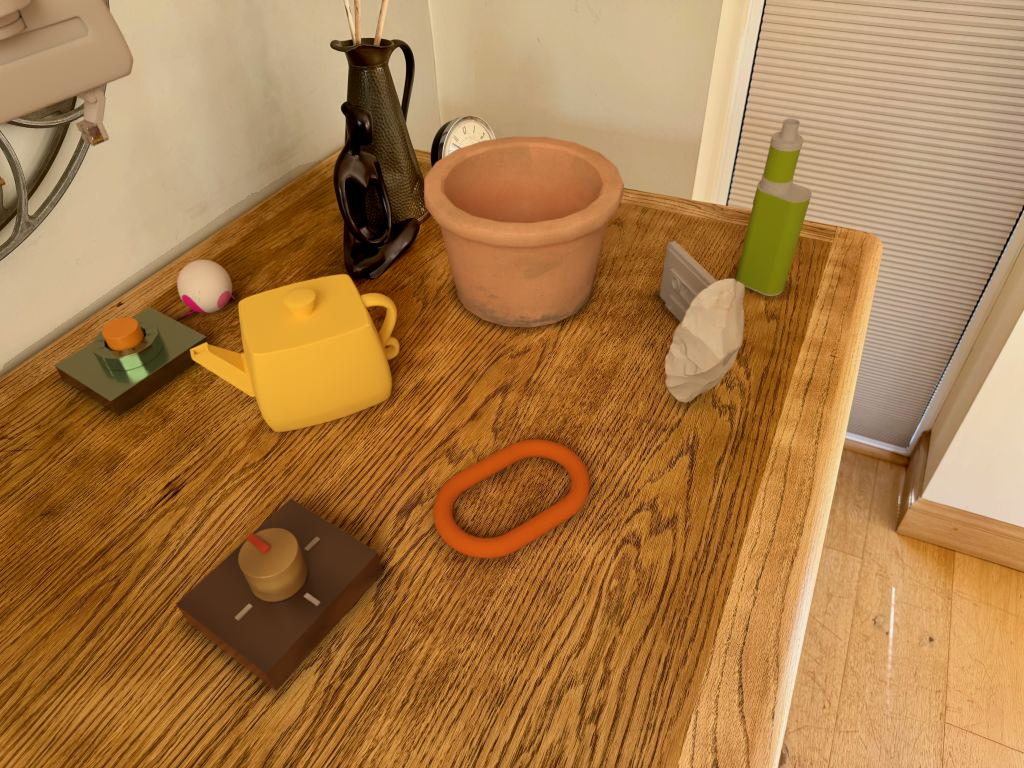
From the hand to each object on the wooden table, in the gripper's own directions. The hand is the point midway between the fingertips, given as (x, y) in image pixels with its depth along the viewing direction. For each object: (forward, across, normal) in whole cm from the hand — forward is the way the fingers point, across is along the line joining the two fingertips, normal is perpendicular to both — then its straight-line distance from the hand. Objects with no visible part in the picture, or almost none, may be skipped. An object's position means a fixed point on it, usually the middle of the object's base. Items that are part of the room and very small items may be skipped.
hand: (47, 163), depth 62 cm
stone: (+26, -29, +50) cm, 64 cm away
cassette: (+26, -40, +44) cm, 65 cm away
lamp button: (+21, 0, -3) cm, 21 cm away
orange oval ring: (+26, -8, +42) cm, 50 cm away
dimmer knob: (+22, +10, +32) cm, 40 cm away
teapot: (+25, -8, +16) cm, 31 cm away
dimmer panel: (+25, +10, +32) cm, 42 cm away
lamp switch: (+25, 0, -3) cm, 25 cm away
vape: (+26, -52, +48) cm, 75 cm away
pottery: (+26, -35, +24) cm, 50 cm away
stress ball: (+25, -11, -5) cm, 28 cm away
